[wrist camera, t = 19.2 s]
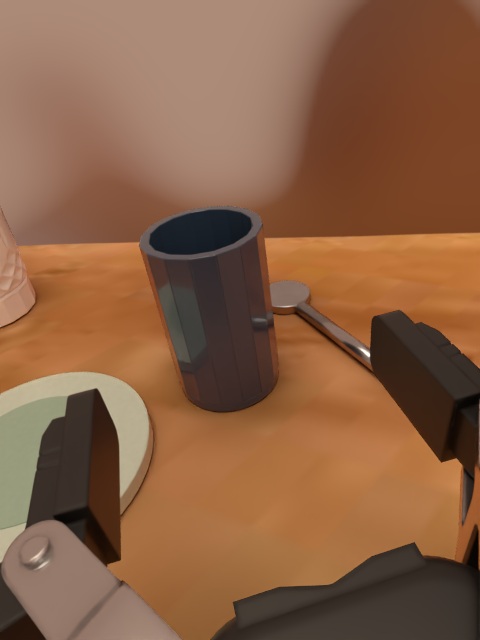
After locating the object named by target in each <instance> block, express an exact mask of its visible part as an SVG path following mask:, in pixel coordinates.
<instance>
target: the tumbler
mask: <svg viewBox="0 0 480 640" xmlns="http://www.w3.org/2000/svg"><path fill="white" fill-rule="evenodd" d="M139 247H140V251H141V254H142V257H143V261H144V264H145V267H146V271H147V274H148V278H149V281H150V284H151V288H152V291H153V294H154V298H155V301H156V304H157V308H158V311H159V314H160V318H161V321H162V325H163V328H164V331H165V335H166V338H167V341H168V345H169V348H170V351H171V355H172V358H173V362H174V365H175V368H176V372H177V375H178V378H179V382H180V384H181V386H182V389H183V392H184V394H185V396H186V397H187V398H188V399H189V400H190V401H191V402H192V403H193V404H195V405H196V406H198V407H201V408H203V409H206V410H210V411H218V412H228V411H235V410H240V409H243V408H246V407H249V406H251V405H253V404H255V403H257V402H259V401H260V400H262V399H263V398H264V397H266V396H267V395H268V394H269V393H270V392H271V390H272V389H273V387H274V386H275V384H276V382H277V379H278V373H279V370H278V367H279V364H278V355H277V346H276V337H275V328H274V319H273V311H272V302H271V293H270V284H269V275H268V266H267V257H266V249H265V240H264V231H263V224H262V221H261V219H260V216H259V215H258V214H256V213H254V212H252V211H250V210H249V209H245V208H238V207H233V206H211V207H204V208H198V209H192V210H188V211H184V212H181V213H178V214H175V215H172V216H169V217H167V218H165V219H163V220H161V221H159V222H157V223H155V224H153V225H152V226H151V227H150V228H148V229H147V230H146V231H145V232H144V233H143V234H142V236H141V239H140V244H139Z"/></svg>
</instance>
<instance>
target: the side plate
mask: <svg viewBox="0 0 480 640" xmlns="http://www.w3.org/2000/svg"><path fill="white" fill-rule="evenodd" d="M94 388H97V389H98V390H99V391H100V393H101V396H102V398H103V400H104V402H105V404H106V407H107V409H108V411H109V413H110V416H111V418H112V420H113V422H114V424H115V427H116V430H117V434H118V439H119V453H120V516H121V515H122V513H123V512H124V511H125V509H126V508H127V507H128V505H129V504H130V502H131V501H132V500H133V498H134V496H135V494H136V493H137V491H138V489H139V488H140V486H141V484H142V482H143V479H144V477H145V475H146V473H147V470H148V466H149V463H150V460H151V456H152V449H153V428H152V422H151V419H150V417H149V414H148V411H147V409H146V406H145V404H144V402H143V400H142V399H141V397H140V395H139V394H138V393H137V392H136V391H135V390H134V389H133V388H132V387H131V386H129V385H128V384H127V383H125V382H124V381H122V380H120V379H117V378H115V377H112V376H109V375H106V374H101V373H95V372H68V373H61V374H55V375H51V376H46V377H42V378H39V379H36V380H32V381H29V382H27V383H24V384H21V385H19V386H16V387H14V388H12V389H10V390H8V391H5V392H3V393H1V394H0V563H1V562H2V561H3V558H4V555H5V553H6V551H7V549H8V548H9V546H10V544H11V543H12V542H13V541H14V539H15V538H16V537H17V536H18V535H19V534H20V533H22V532H23V531H24V530H25V527H26V522H27V516H28V511H29V505H30V500H31V494H32V488H33V483H34V477H35V471H37V469H36V466H37V460H38V457H39V449H40V443H41V438H42V435H43V434H44V432H45V430H46V429H47V427H48V426H49V424H50V422H51V421H52V419H56V418H59V417H63V416H65V411H66V403H67V398H68V396H69V395H72V394H75V393H79V392H83V391H87V390H91V389H94Z"/></svg>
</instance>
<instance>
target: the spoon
mask: <svg viewBox="0 0 480 640" xmlns="http://www.w3.org/2000/svg"><path fill="white" fill-rule="evenodd" d="M270 293H271V302H272V311H273V313H275V314H292V313H296V312H297V313H298V314H300V315H301V316H302V317H303V318H305V319H306V320H307V321H309V322H310V323H311V324H312V325H314V326H315V327H316V328H318V329H319V330H320V331H321V332H323V333H324V334H325V335H327V336H328V337H329V338H330V339H332V340H333V341H334V342H336V343H337V344H338V345H339V346H341V347H342V348H343V349H345V350H346V351H347V352H348V353H350V354H351V355H352V356H354V357H355V358H356V359H357V360H359V361H360V362H361V363H363V364H364V365H365V366H366V367H368V368H369V369H370V370H372V371H373V369H372V366H371V362H370V348H369V347H367V346H366V345H364V344H363V343H362V342H360V341H359V340H358V339H356V338H355V337H353V336H352V335H351V334H349V333H348V332H347V331H345V330H344V329H342V328H341V327H340V326H338V325H337V324H336V323H334V322H333V321H331V320H330V319H329V318H327V317H326V316H325V315H323V314H322V313H320V312H319V311H318V310H316V309H315V308H314V307H312V306H311V305H309V303H310V300H311V296H310V289H309V288H308V287H307V286H306V285H305V284H303V283H301V282H297V281H279V282H275V283H273V284H270ZM373 372H374V371H373Z"/></svg>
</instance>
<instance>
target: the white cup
mask: <svg viewBox="0 0 480 640" xmlns="http://www.w3.org/2000/svg"><path fill="white" fill-rule="evenodd" d="M35 301H36V294H35V291H34V289H33V287H32V284H31V282H30V280H29V278H28V275H27V274H26V268H25V265H24V262H23V260H22V258H21V256H20V253H19V250H18V247H17V244H16V242H15V240H14V237H13V235H12V232H11V231H10V228H9V225H8V223H7V221H6V219H5V216H4V214H3V211H2V209H1V207H0V327H2V326H5V325H7V324H10V323H12V322H14V321H15V320H17V319H18V318H20V317H21V316H23V315H24V314H26V313H27V312H28V311H29V310H30V309H31V308H32V306H33V305H34V304H35Z"/></svg>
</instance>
